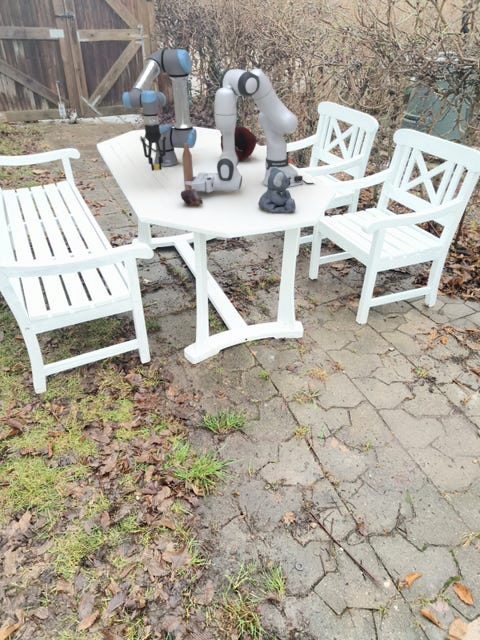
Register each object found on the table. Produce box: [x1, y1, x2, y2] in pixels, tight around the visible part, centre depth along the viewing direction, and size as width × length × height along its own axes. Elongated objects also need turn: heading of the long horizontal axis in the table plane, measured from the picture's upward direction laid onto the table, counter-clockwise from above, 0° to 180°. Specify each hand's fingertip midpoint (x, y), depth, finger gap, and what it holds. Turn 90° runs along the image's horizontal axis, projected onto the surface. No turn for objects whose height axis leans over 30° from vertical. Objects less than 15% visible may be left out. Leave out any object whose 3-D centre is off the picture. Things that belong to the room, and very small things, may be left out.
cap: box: [153, 163, 161, 171], centre depth 246 cm, size 4×4×2 cm
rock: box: [180, 189, 204, 207], centre depth 229 cm, size 12×9×10 cm
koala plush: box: [257, 167, 297, 214], centre depth 221 cm, size 17×18×20 cm
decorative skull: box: [219, 125, 257, 162], centre depth 297 cm, size 21×24×25 cm
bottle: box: [181, 143, 194, 191], centre depth 240 cm, size 5×5×26 cm
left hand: (156, 169), depth 247 cm, fingers closed on cap, 4 cm apart
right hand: (187, 180), depth 244 cm, fingers closed on bottle, 5 cm apart
